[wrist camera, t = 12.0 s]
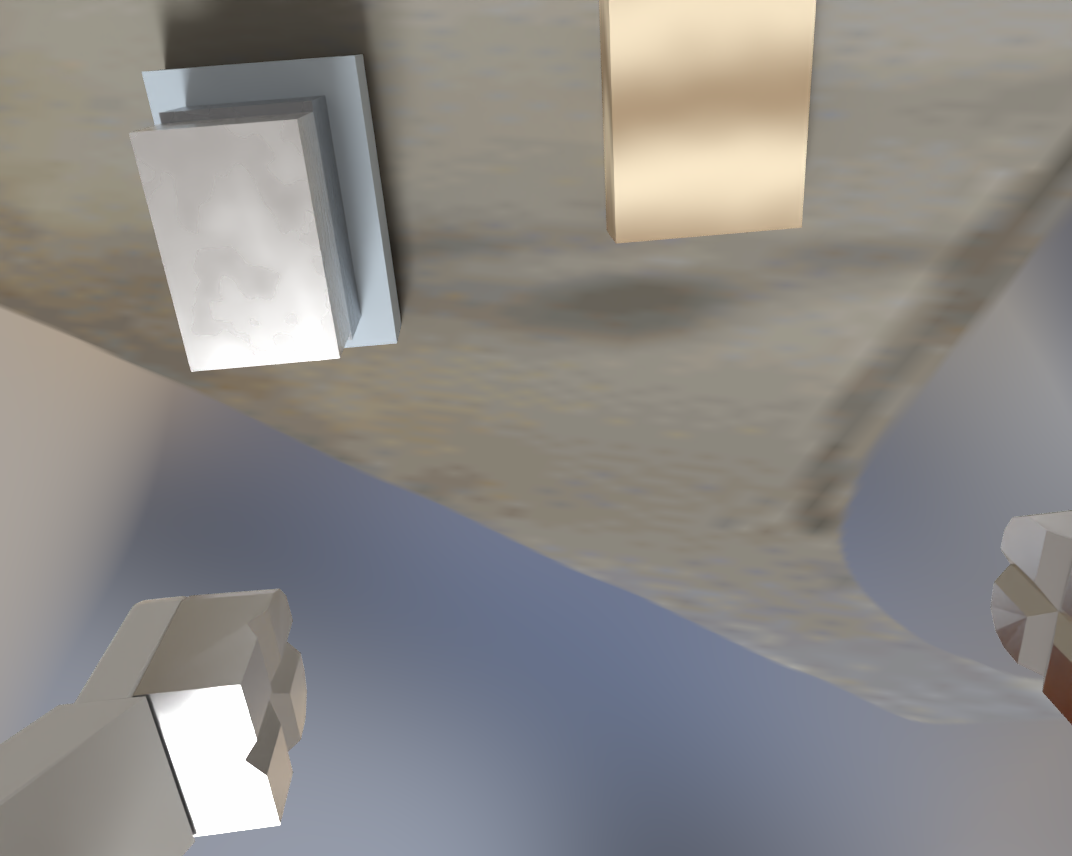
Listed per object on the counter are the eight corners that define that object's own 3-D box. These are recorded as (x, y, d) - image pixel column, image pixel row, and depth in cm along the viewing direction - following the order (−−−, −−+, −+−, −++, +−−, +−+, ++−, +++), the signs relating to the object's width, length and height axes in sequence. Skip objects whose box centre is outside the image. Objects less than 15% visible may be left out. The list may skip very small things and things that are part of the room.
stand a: (597, -64, 37) (606, -71, 35) (796, -78, 38) (821, -87, 35) (606, 230, 43) (616, 243, 40) (780, 215, 43) (801, 227, 41)
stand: (164, 69, 38) (141, 71, 36) (362, 54, 39) (354, 55, 36) (228, 339, 44) (212, 359, 41) (401, 324, 44) (396, 343, 42)
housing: (185, 106, 36) (125, 120, 30) (325, 95, 37) (294, 107, 30) (236, 327, 41) (193, 380, 34) (361, 316, 41) (341, 367, 34)
